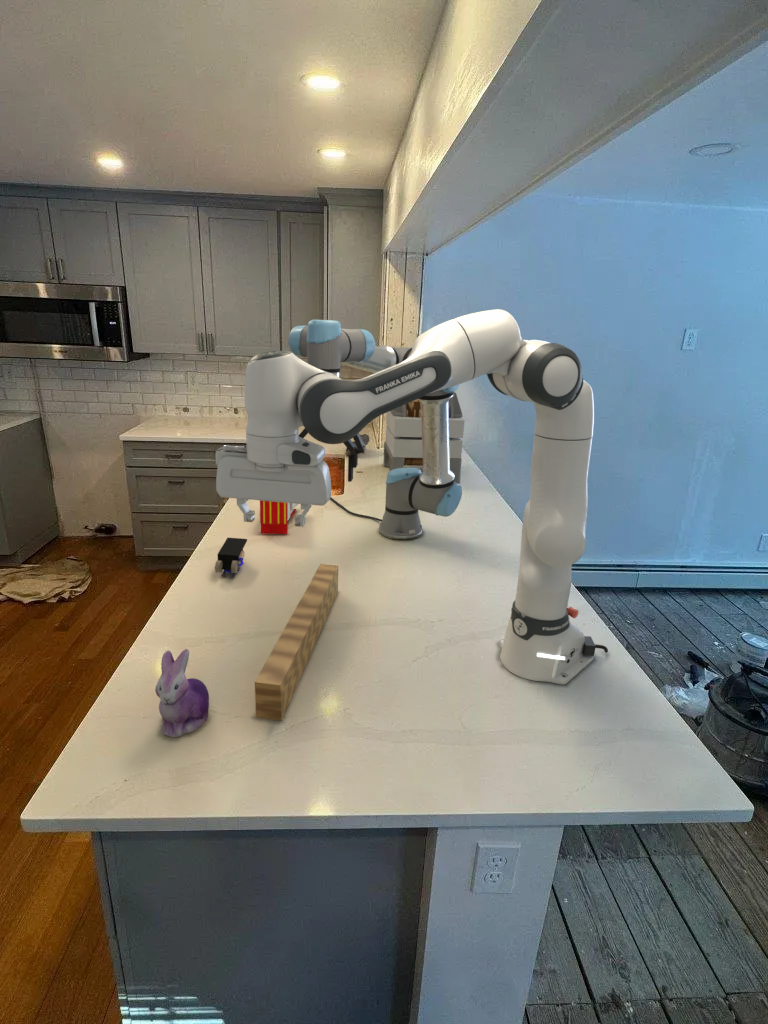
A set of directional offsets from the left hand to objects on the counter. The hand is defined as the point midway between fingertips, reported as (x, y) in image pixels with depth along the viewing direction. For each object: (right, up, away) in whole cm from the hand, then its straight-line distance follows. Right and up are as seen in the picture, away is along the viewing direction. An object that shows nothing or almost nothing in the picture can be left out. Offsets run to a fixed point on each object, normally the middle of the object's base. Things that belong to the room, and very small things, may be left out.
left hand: (323, 478), depth 138 cm
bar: (-4, -39, -6) cm, 40 cm away
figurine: (-22, -48, -32) cm, 62 cm away
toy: (-23, -11, +69) cm, 73 cm away
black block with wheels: (-30, -25, +29) cm, 49 cm away
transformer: (+32, +11, +136) cm, 141 cm away
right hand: (-5, -10, -36) cm, 38 cm away
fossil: (0, +24, +169) cm, 170 cm away
